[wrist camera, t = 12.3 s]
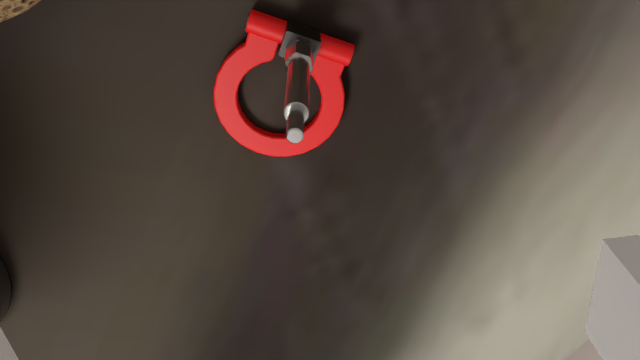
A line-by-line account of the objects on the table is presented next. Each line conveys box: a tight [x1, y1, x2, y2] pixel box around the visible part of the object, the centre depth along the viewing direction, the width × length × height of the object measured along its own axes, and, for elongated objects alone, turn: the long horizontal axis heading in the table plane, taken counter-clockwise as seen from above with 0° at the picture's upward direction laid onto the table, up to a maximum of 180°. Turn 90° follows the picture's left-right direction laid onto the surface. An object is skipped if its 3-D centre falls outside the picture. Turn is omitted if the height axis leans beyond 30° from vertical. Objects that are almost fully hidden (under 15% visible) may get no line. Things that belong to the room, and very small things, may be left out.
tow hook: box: [213, 9, 355, 157], centre depth 31 cm, size 8×13×9 cm
